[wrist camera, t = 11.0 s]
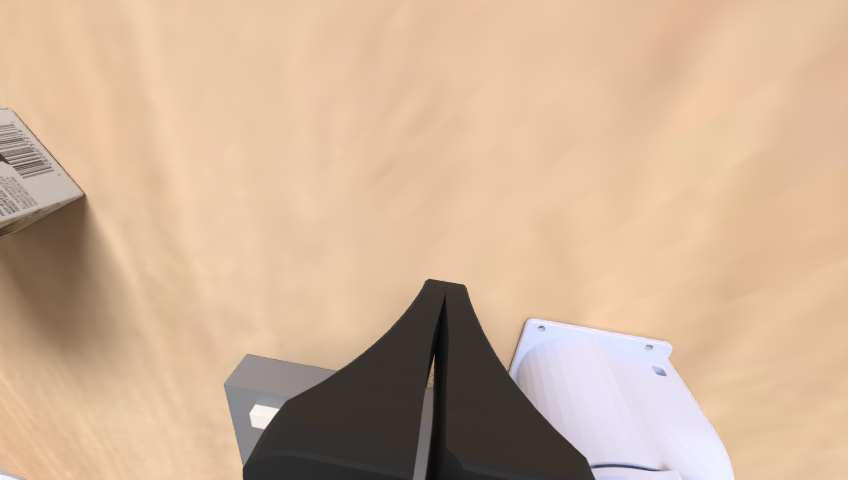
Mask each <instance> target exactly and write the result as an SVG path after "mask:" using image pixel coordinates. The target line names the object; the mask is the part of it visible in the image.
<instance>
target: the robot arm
mask: <svg viewBox="0 0 848 480" xmlns="http://www.w3.org/2000/svg"><path fill="white" fill-rule="evenodd" d="M539 326H544V327H542V328H538V327H539ZM647 345H649V346H647ZM672 350H673V348H672V346H671V345H670V343H669V342H666V341H662V340H656V339H650V338H644V337H639V336H633V335H627V334H621V333H615V332H610V331H604V330H598V329H592V328H587V327H581V326H575V325H569V324H564V323H558V322H552V321H546V320H541V319H535V318H531V319H529V320H527V321H526V323H525V326H524V329H523V332H522V335H521V338H520V341H519V343H518V346H517V349H516V352H515V355H514V358H513V361H512V364H511V367H510V370H509V373H508V372H507V371H506V369H505V368H504V366H503V365H502V363H501V362H500V360H499V358H498V357H497V355H496V354H495V352H494V350H493V348H492V347H491V345H490V343H489V341H488V339H487V338H486V336H485V334H484V332H483V330H482V327H481V325H480V323H479V321H478V319H477V317H476V314H475V312H474V309H473V307H472V304H471V301H470V298H469V295H468V292H467V288H466V287H465V285H462V284H456V283H451V282H445V281H439V280H433V279H428V280H426V281H425V284H424V286H423V288H422V289H421V291H420V293H419V294H418V296H417V297H416V299H415V300H414V301H413V303H412V304H411V305H410V307H409V308H408V309H407V310H406V312H405V313H404V314H403V315H402V316H401V318H400V319H399V320H398V321H397V322H396V323H395V324H394V325H393V326H392V327H391V329H390V330H389V331H388V332H387V333H386V334H385V335H383V336H382V337H381V338H380V339H379V340H378V341H377V342H376V343H375V344H374V345H372V346H371V347H370V348H369V349H368V350H366V351H365V352H364V353H363V354H361V355H360V356H359V357H358V358H356V359H355V360H354V361H352V362H351V363H350V364H348V365H347V366H345V367H344V368H342V369H341V370H339V371H338V372H336V373H334V374H333V375H331V376H330V377H328V378H327V379H325V380H324V381H322V382H320V383H319V384H317V385H315V386H313V387H311V388H309V389H308V390H306V391H304V392H302V393H300V394H298V395H296V396H295V397H293V398H291V399H289V400H287V401H286V402H285V403H284V404H283V405H282V407H281V408H280V409H279V411H278V412H277V413H276V414H275V416H274V417H273V419H272V420H271V421H270V423H269V424H268V425H267V427H266V428H265V430H264V431H263V433H262V434H261V436H260V438H259V440H258V442H257V443H256V445H255V447H254V449H253V451H252V453H251V454H250V456H249V458H248V460H247V462H246V464H245V465H244V467H243V480H413V476H414V469H415V463H416V456H417V449H418V441H419V433H420V425H421V418H422V410H423V403H424V395H425V391H426V387H427V383H428V378H429V374H430V370H431V366H432V362H433V358H434V354H435V358H434V386H433V414H432V427H431V436H430V444H429V452H428V460H427V467H426V475H425V480H735V479H734V474H733V470H732V466H731V462H730V459H729V457H728V454H727V451H726V449H725V447H724V445H723V443H722V441H721V439H720V437H719V436H718V434H717V433H716V431H715V429H714V428H713V426H712V425H711V423H710V422H709V420H708V419H707V417H706V416H705V414H704V413H703V411H702V410H701V408H700V407H699V405H698V404H697V402H696V400H695V399H694V397H693V396H692V394H691V393H690V391H689V390H688V388H687V387H686V385H685V384H684V382H683V381H682V379H681V378H680V376H679V375H678V373H677V371H676V370H675V368H674V367H673V365H672V364H671V362H670V361H669V359H668V357H669V356H670V354H671V352H672ZM0 480H25V479H24V478H22V477H19V476H16V475H13V474H8V473H3V472H0Z"/></svg>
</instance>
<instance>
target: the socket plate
mask: <svg viewBox="0 0 848 480" xmlns="http://www.w3.org/2000/svg"><path fill="white" fill-rule="evenodd" d="M336 372H338V371H333V370H327V369H322V368H317V367H312V366H306V365H301V364H296V363H290V362H285V361H280V360H275V359H269V358H264V357H259V356H253V355H248V354H247V355H246V356H245V357H244V358H243V360H242V361H241V362H240V364H239V365H238V366H237V367H236V369H235V370H234V371H233V373H232V374H231V375H230V376H229V378H228V379H227V380H226V382H225V383H224V387H225V392H226V396H227V400H228V404H229V409H230V413H231V417H232V421H233V426H234V430H235V434H236V438H237V442H238V447H239V451H240V455H241V459H242V464H243V467H244V465H245V464H246V462H247V460H248V458H249V456H250V454H251V453H252V451H253V449H254V447H255V445H256V443H257V442H258V440H259V438H260V436H261V434H262V433H263V431H264V430H265V428H266V427H267V425H268V424H269V423H270V421H271V420H272V419H273V417H274V416H275V414H276V413H277V412H278V411H279V409H280V408H281V407H282V405H283V404H284V403H285V402H286V401H287V400H289V399H291V398H293V397H295V396H296V395H298V394H300V393H302V392H304V391H306V390H308V389H309V388H311V387H313V386H315V385H317V384H319V383H320V382H322V381H324V380H325V379H327V378H328V377H330V376H331V375H333V374H334V373H336ZM432 414H433V389H428V388H426V391H425V395H424V403H423V410H422V418H421V425H420V433H419V441H418V449H417V456H416V463H415V469H414V476H413V480H425V475H426V467H427V460H428V452H429V444H430V436H431V427H432Z"/></svg>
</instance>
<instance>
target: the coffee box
mask: <svg viewBox="0 0 848 480" xmlns="http://www.w3.org/2000/svg"><path fill="white" fill-rule="evenodd" d="M83 195H84V193H83V192H82V190H81V189H80V188H79V187H78V186H77V185H76V183H75V182H74V181H73V180H72V179H71V178H70V177H69V175H68V174H67V173H66V172H65V171H64V170H63V168H62V167H61V166H60V165H59V164H58V163H57V162H56V160H55V159H54V158H53V157H52V156H51V155H50V154H49V152H48V151H47V150H46V149H45V148H44V147H43V145H42V144H41V143H40V142H39V141H38V140H37V138H36V137H35V136H34V135H33V134H32V133H31V131H30V130H29V129H28V128H27V127H26V126H25V124H24V123H23V122H22V121H21V120H20V119H19V117H18V116H17V115H16V114H15V113H14V112H13V111H12V110H11V109H8V108H3V109H0V239H2V238H5V237H7V236H10V235H12V234H14V233H16V232H18V231H20V230H22V229H24V228H26V227H27V226H29V225H31V224H33V223H34V222H36V221H38V220H40V219H41V218H43V217H45V216H47V215H49V214H51V213H53V212H54V211H56V210H58V209H60V208H62V207H63V206H65V205H67V204H69V203H71V202H73V201H74V200H76V199H78V198H80V197H81V196H83Z"/></svg>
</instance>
